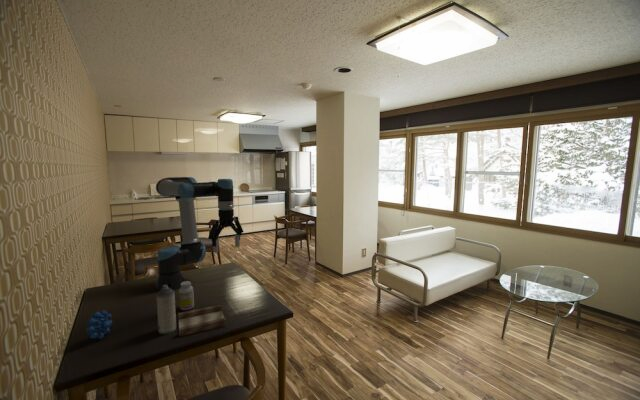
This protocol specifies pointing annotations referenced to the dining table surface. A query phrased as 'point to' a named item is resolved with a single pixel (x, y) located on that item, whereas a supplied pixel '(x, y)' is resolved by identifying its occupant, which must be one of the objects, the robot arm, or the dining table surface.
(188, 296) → the supplement bottle
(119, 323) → the dining table surface
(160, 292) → the aerosol can
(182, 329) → the cradle
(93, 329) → the grapes
